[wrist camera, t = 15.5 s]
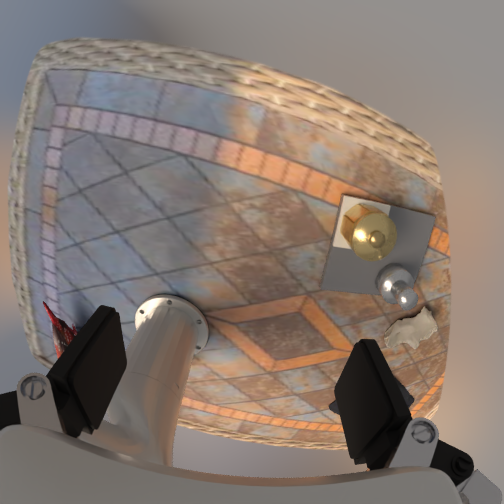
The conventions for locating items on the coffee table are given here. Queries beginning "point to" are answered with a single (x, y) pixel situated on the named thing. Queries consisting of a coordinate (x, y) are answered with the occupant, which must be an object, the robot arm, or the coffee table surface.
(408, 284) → the grey knob
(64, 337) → the decorative bird figurine
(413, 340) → the beige bone fragment
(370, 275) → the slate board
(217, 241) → the coffee table surface
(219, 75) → the coffee table surface
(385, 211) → the pad
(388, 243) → the gold lidded jar
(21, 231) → the coffee table surface
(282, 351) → the coffee table surface
